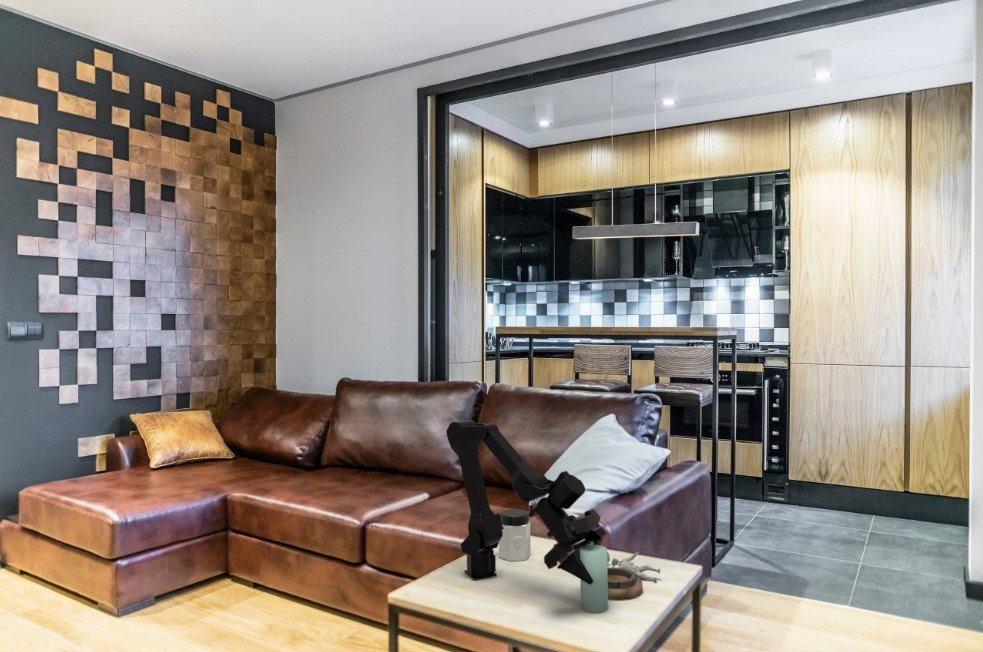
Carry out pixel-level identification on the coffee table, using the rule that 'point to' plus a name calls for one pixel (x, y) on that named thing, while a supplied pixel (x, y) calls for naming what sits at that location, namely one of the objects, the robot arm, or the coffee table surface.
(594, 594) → the column
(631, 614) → the coffee table surface
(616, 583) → the segmented ring tray
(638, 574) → the soldier figure
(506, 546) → the jar
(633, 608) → the coffee table surface
